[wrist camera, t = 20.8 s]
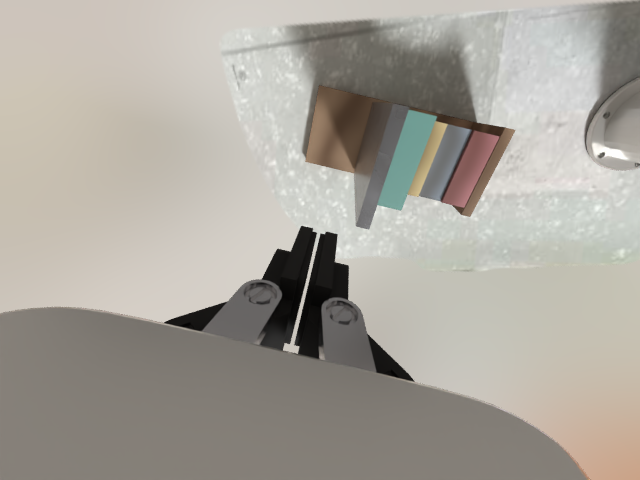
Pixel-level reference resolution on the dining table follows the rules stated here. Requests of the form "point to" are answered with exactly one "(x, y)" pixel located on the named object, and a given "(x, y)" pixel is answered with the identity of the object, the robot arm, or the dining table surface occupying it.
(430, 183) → the book rack
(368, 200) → the bookend
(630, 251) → the dining table surface
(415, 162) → the loose book
